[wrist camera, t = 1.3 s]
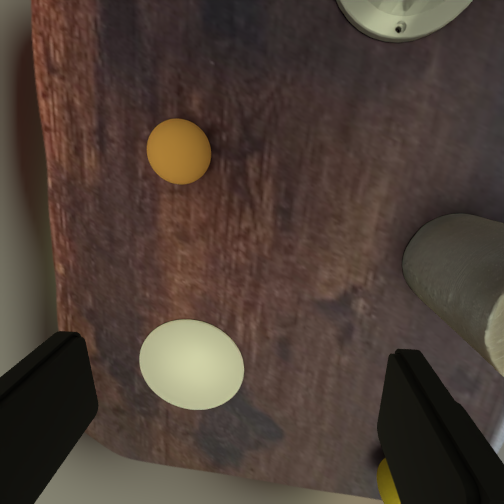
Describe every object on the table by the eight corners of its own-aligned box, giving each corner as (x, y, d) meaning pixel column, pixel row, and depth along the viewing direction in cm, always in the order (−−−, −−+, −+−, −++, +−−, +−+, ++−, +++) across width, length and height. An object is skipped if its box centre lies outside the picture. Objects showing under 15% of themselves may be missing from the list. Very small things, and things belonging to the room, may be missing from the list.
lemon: (401, 477, 40) (430, 552, 32) (361, 464, 40) (382, 536, 32) (421, 447, 38) (457, 519, 31) (380, 434, 38) (406, 502, 31)
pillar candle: (505, 288, 31) (697, 394, 17) (409, 312, 33) (510, 426, 19) (494, 198, 29) (706, 233, 15) (391, 228, 31) (491, 286, 16)
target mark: (136, 314, 36) (136, 315, 36) (246, 323, 35) (246, 324, 35) (143, 403, 40) (142, 404, 40) (242, 413, 39) (241, 414, 39)
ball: (159, 121, 29) (133, 112, 24) (216, 123, 29) (203, 115, 24) (161, 180, 31) (137, 185, 26) (216, 183, 31) (203, 188, 25)
